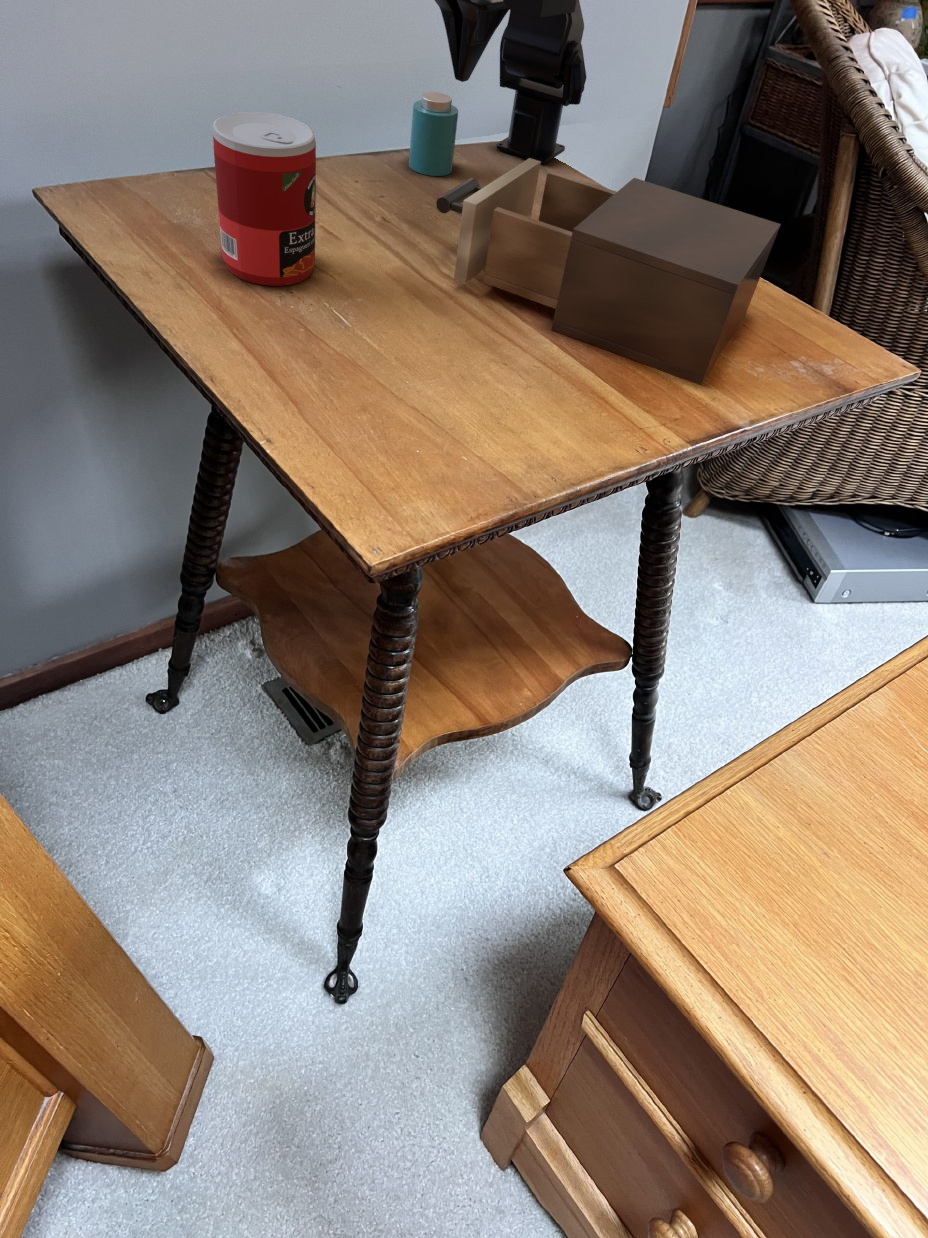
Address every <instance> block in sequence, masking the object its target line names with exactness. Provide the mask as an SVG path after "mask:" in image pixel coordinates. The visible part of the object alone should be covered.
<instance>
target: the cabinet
mask: <svg viewBox="0 0 928 1238" xmlns="http://www.w3.org/2000/svg"><path fill="white" fill-rule="evenodd" d="M781 225H782V224H781V223H778V222H775V221H772V220H770V219H766V218H763V217H759V216H756V215H753V214H750V213H747V212H743V211H741V210H738V209H734V208H731V207H728V206H725V205H722V204H719V203H715V202H713V201H709V200H706V199H704V198H700V197H696V196H693V195H690V194H687V193H684V192H680V191H678V190H674V189H672V188H669V187H665V186H662V185H658V184H656V183H652V182H649V181H646V180H643V179H640V178H637V177H633V178H632V179H630V180H629V181H628V182H627V183H625V185H623V186H622V187H621V188H620V189H618V190H617V191H616V193H615V194H614V195H613V196H612V197H610V198H609V199H608V200H607V201H606V202H605V203H603V204H602V205H601V206H600V207H599V208H597V209H596V210H595V211H594V212H593V213H592V214H590V215H589V216H588V217H587V218H586V219H584V220H583V221H582V222H581V223H580V224H578V225H577V226H576V227H575V228H574V229H573V232H572V237H571V242H570V246H569V251H568V255H567V260H566V265H565V269H564V274H563V278H562V283H561V287H560V292H559V297H558V301H557V306H556V309H554V310H555V311H554V315H553V321H552V324H551V328H550V329H551V331H554V332H557V333H560V334H562V335H565V336H568V337H570V338H572V339H576V340H579V341H581V342H584V343H586V344H590V345H592V346H595V347H598V348H600V349H603V350H605V351H608V352H611V353H614V354H615V355H619V356H622V357H624V358H626V359H630V360H633V361H636V362H638V363H641V364H643V365H646V366H649V367H651V368H654V369H657V370H659V371H663V372H665V373H666V374H670V375H673V376H676V377H678V378H681V379H682V380H683V379H684V380H687V381H689V382H691V383H694V384H696V385H700V386H702V385H703V384H704V382H705V380H706V378H707V377H708V375H709V373H710V372H711V371H712V369H713V367H714V366H715V364H716V363H717V361H718V360H719V358H720V357H721V355H722V354H723V352H724V350H725V349H726V347H727V346H728V344H729V343H730V341H731V339H732V338H733V337H734V335H735V333H736V331H737V330H738V328H739V326H740V325H741V324H742V322H743V321H744V319H745V318H746V315H747V312H748V309H749V307H750V305H751V302H752V300H753V297H754V294H755V292H756V289H757V287H758V284H759V281H760V280H761V277H762V274H763V271H764V269H765V266H766V263H767V261H768V258H769V256H770V253H771V250H772V248H773V245H774V243H775V240H776V238H777V235H778V233H779V230H780V228H781Z"/></svg>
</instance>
